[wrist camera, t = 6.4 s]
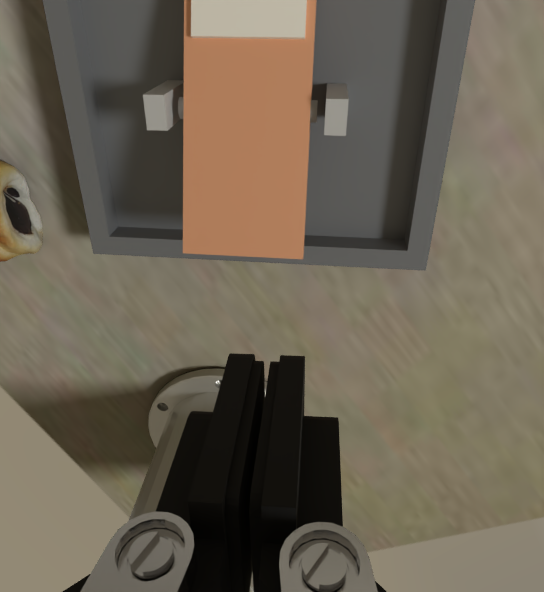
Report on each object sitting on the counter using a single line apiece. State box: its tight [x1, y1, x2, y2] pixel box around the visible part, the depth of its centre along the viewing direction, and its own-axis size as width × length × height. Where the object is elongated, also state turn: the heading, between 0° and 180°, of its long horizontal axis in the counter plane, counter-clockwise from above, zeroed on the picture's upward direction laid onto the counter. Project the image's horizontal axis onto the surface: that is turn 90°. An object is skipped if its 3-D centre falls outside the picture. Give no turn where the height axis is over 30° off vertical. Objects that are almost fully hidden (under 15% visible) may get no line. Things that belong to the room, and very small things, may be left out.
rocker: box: [178, 0, 318, 259], centre depth 24 cm, size 14×7×2 cm, turn 0°
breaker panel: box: [43, 0, 475, 270], centre depth 26 cm, size 18×20×6 cm
